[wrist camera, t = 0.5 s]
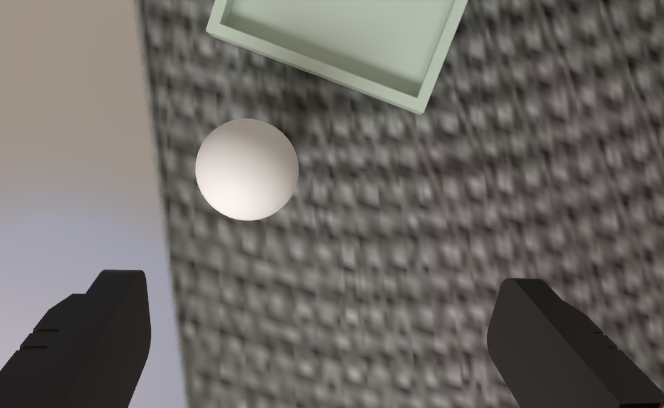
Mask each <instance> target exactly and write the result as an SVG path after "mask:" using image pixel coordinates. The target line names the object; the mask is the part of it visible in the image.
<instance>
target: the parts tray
mask: <svg viewBox="0 0 664 408" xmlns="http://www.w3.org/2000/svg"><path fill="white" fill-rule="evenodd" d="M467 1H468V0H215V3H214V6H213V9H212V12H211V16H210V19H209V22H208V25H207V28H206V31H207V32H208V33H209V34H211V35H212V36H213V37H215V38H218V39H220V40H223V41H226V42H228V43H231V44H234V45H236V46H239V47H241V48H244V49H247V50H249V51H252V52H255V53H257V54H260V55H263V56H265V57H268V58H271V59H273V60H276V61H278V62H281V63H284V64H286V65H289V66H292V67H294V68H297V69H300V70H302V71H305V72H308V73H310V74H313V75H316V76H318V77H321V78H323V79H326V80H329V81H331V82H334V83H337V84H339V85H342V86H345V87H347V88H350V89H353V90H355V91H358V92H361V93H363V94H366V95H368V96H371V97H374V98H376V99H379V100H382V101H384V102H387V103H390V104H392V105H395V106H398V107H400V108H403V109H406V110H408V111H411V112H413V113H416V114H419V115H420V114H422V113H424V110H425V108H426V105H427V103H428V100H429V98H430V95H431V93H432V90H433V87H434V85H435V82H436V80H437V77H438V75H439V72H440V70H441V67H442V65H443V62H444V60H445V57H446V55H447V52H448V50H449V47H450V44H451V42H452V39H453V37H454V34H455V32H456V29H457V27H458V24H459V22H460V19H461V17H462V14H463V12H464V9H465V7H466V4H467Z"/></svg>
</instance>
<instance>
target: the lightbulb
mask: <svg viewBox="0 0 664 408" xmlns="http://www.w3.org/2000/svg"><path fill="white" fill-rule="evenodd" d="M298 177H299V165H298V159H297V155H296V153H295V150H294V148H293V146H292V144H291V143H290V141H289V139H288V138H287V137H286V136H285V135H284V134H283V133H282V132H281V131H280V130H278V129H277V128H276V127H274V126H272V125H270V124H268V123H266V122H263V121H259V120H255V119H237V120H232V121H230V122H227V123H224V124H223V125H221V126H220V127H218V128H216V129H215V130H213V131H212V132H211V133H210V134H209V135H208V136H207V137H206V139H205V140H204V142H203V143H202V145H201V147H200V150H199V152H198V155H197V160H196V178H197V183H198V185H199V188H200V190H201V193H202V194H203V196H204V197H205V199H206V200H207V201H208V203H209V204H210V205H211V206H212V207H213V208H215V209H216V210H217V211H219V212H220V213H222V214H224V215H226V216H228V217H230V218H234V219H239V220H258V219H262V218H265V217H268V216H270V215H272V214H274V213H275V212H277V211H278V210H280V209H281V208H282V207H283V206H284V205H285V204H286V203H287V202H288V200H289V199H290V198H291V196H292V195H293V193H294V190H295V188H296V186H297V181H298Z"/></svg>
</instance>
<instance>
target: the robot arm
mask: <svg viewBox="0 0 664 408" xmlns="http://www.w3.org/2000/svg"><path fill="white" fill-rule="evenodd" d="M150 342H151V324H150V314H149V303H148V293H147V283H146V277H145V273H144V272H143V271H142V270H103V271H102V272H101V273H100V274H99V275H98V277H97V278H96V280H95V281H94V282H93V284H92V285H91V287H90V288H89V289H88V291H87V292H86V294H72V295H70V296H69V297H67V298H66V299H64V300H63V301H61V302H60V303H58V304H57V305H55V306H54V307H52V308H51V309H49V310H48V311H47V313H46V314H45V315H44V317H43V318H42V319H41V320H40V322H39V323H38V324H37V325H36V327H35V328H34V329H33V333H30V334H29V335H28V337H27V338H26V339H25V341H24V342H23V343H22V344H21V345H20V350H19V351H18V350H17V351H16V352H15V353H14V354H13V356H12V357H11V358H10V359H9V361H8V362H7V363H6V364H5V366H4V367H3V368H2V369H1V371H0V408H128V406H129V403H130V400H131V398H132V396H133V393H134V391H135V388H136V386H137V383H138V381H139V378H140V376H141V373H142V371H143V368H144V366H145V363H146V360H147V357H148V353H149V349H150ZM487 345H488V351H489V354H490V357H491V359H492V361H493V362H494V364H495V366H496V367H497V369H498V371H499V372H500V374H501V376H502V377H503V379H504V381H505V382H506V384H507V386H508V388H509V389H510V391H511V393H512V394H513V396H514V398H515V399H516V401H517V403H518V404H519V406H520V408H664V393H663V392H662V391H661V390H660V389H659V388H658V387H657V386H656V385H655V384H654V383H653V382H652V381H651V380H650V379H649V378H648V377H647V376H646V375H645V374H644V373H643V372H642V371H641V370H640V369H639V368H638V367H637V366H636V365H635V364H634V363H633V362H632V361H631V360H630V359H629V358H628V357H627V356H626V355H625V354H624V353H623V352H622V351H621V350H618V349H617V346H616V345H615V344H614V343H613V342H612V341H611V340H610V339H609V338H608V337H607V336H606V335H603V332H602V331H601V330H600V329H599V328H598V327H597V326H596V325H595V324H594V323H593V322H592V321H591V320H590V318H589V317H588V316H587V315H585V314H584V313H582V312H580V311H579V310H577V309H576V308H574V307H573V306H571V305H569V304H568V303H566V302H565V301H562V299H561V298H560V297H559V296H558V295H557V294H556V293H555V292H554V291H553V290H552V289H551V288H550V287H549V286H548V285H547V284H546V283H545V282H544V281H543V280H541V279H524V278H507V279H505V280H504V281H503V282H502V284H501V287H500V290H499V293H498V297H497V300H496V304H495V307H494V311H493V314H492V318H491V321H490V325H489V328H488V333H487Z"/></svg>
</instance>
